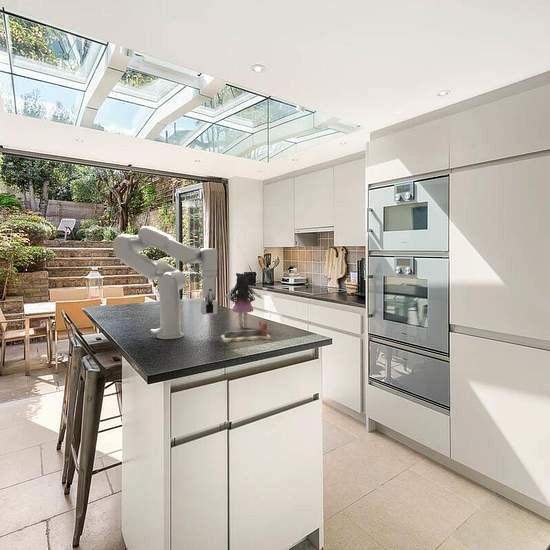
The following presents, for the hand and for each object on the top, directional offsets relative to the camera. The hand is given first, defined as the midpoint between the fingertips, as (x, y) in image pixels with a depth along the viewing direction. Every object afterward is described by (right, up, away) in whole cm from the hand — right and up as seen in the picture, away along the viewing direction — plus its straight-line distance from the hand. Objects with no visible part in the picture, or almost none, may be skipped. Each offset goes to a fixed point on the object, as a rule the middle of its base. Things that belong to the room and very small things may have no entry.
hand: (208, 311), depth 176 cm
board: (+18, -13, -1) cm, 22 cm away
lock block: (0, -1, 0) cm, 1 cm away
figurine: (+14, -12, +24) cm, 31 cm away
